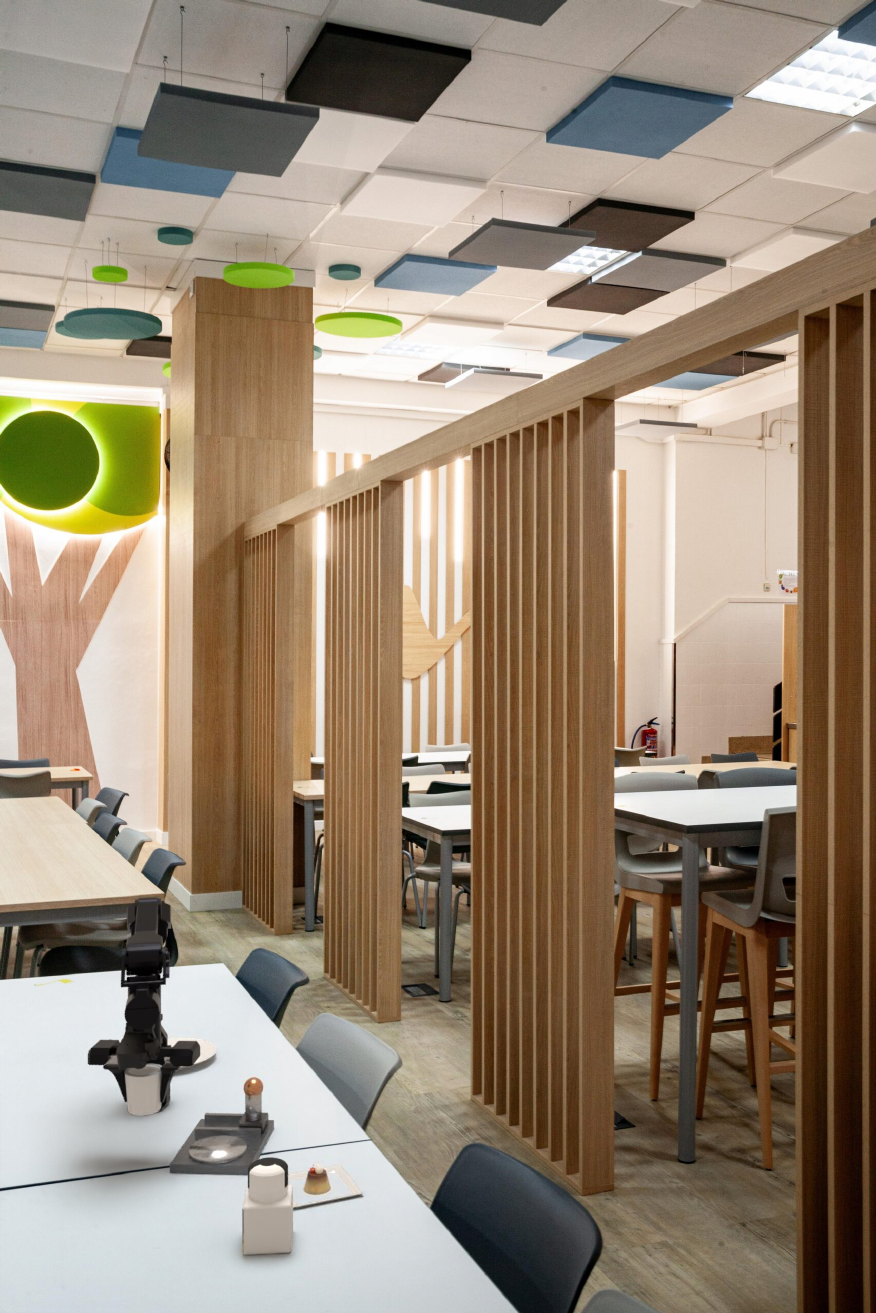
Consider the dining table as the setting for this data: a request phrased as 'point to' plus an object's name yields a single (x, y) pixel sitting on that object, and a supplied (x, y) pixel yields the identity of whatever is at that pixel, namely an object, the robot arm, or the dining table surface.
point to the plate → (205, 1049)
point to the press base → (221, 1146)
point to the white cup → (143, 1089)
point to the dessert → (323, 1182)
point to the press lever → (253, 1105)
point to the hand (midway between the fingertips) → (144, 1101)
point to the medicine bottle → (267, 1208)
